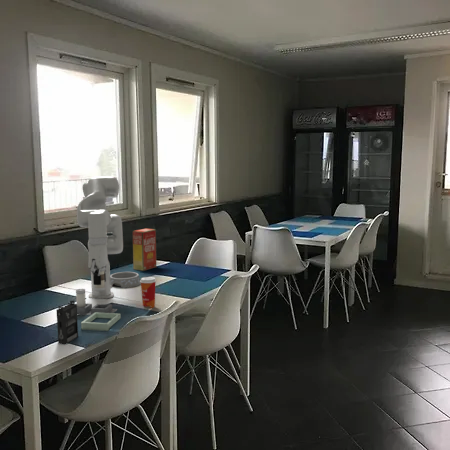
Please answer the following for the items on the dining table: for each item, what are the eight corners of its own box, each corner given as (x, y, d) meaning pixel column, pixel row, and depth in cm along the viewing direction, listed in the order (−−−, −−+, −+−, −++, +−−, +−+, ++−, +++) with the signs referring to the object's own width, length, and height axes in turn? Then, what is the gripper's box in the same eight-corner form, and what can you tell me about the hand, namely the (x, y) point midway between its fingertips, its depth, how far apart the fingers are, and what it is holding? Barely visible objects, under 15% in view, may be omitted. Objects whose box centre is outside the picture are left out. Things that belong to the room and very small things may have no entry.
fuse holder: (74, 309, 241) (74, 301, 240) (118, 311, 237) (118, 304, 236) (64, 315, 231) (64, 308, 231) (109, 318, 227) (109, 310, 227)
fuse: (79, 309, 237) (78, 288, 236) (87, 309, 236) (86, 288, 235) (75, 311, 233) (74, 290, 232) (83, 312, 232) (82, 291, 231)
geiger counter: (70, 334, 207) (68, 299, 204) (80, 335, 205) (78, 300, 203) (54, 343, 197) (52, 306, 195) (64, 345, 195) (62, 307, 193)
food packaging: (143, 271, 318) (142, 231, 314) (132, 269, 323) (131, 230, 319) (157, 267, 329) (156, 229, 325) (146, 265, 334) (145, 228, 330)
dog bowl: (131, 289, 277) (130, 279, 276) (102, 286, 283) (102, 277, 282) (146, 281, 293) (145, 272, 292) (118, 279, 299) (118, 270, 298)
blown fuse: (97, 289, 218) (96, 266, 217) (106, 289, 218) (105, 266, 217) (93, 291, 214) (92, 268, 213) (102, 291, 214) (101, 268, 213)
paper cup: (139, 305, 246) (138, 277, 244) (154, 303, 249) (153, 275, 247) (143, 310, 239) (142, 281, 237) (158, 307, 242) (158, 279, 240)
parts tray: (95, 318, 226) (95, 312, 226) (120, 320, 224) (120, 313, 224) (81, 329, 213) (81, 322, 212) (108, 331, 211) (107, 324, 210)
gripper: (98, 237, 222) (99, 278, 225) (80, 244, 206) (82, 288, 208) (114, 238, 221) (115, 278, 223) (98, 244, 204) (99, 288, 207)
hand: (99, 282), depth 216 cm, fingers closed on blown fuse, 4 cm apart
